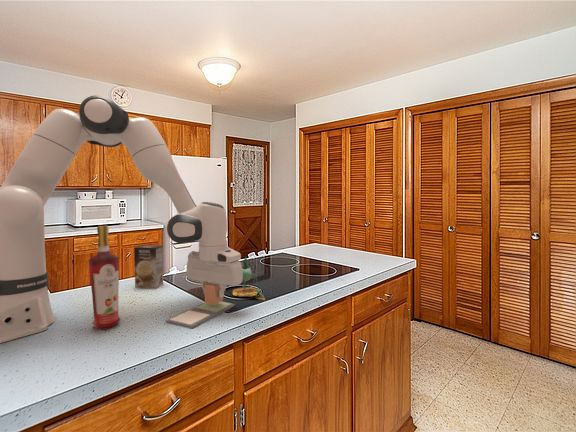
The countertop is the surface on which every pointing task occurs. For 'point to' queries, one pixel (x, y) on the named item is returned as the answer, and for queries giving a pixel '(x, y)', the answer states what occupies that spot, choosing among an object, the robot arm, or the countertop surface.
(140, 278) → the coffee box
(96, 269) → the liquor
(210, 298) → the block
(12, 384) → the countertop surface
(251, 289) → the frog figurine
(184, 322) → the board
